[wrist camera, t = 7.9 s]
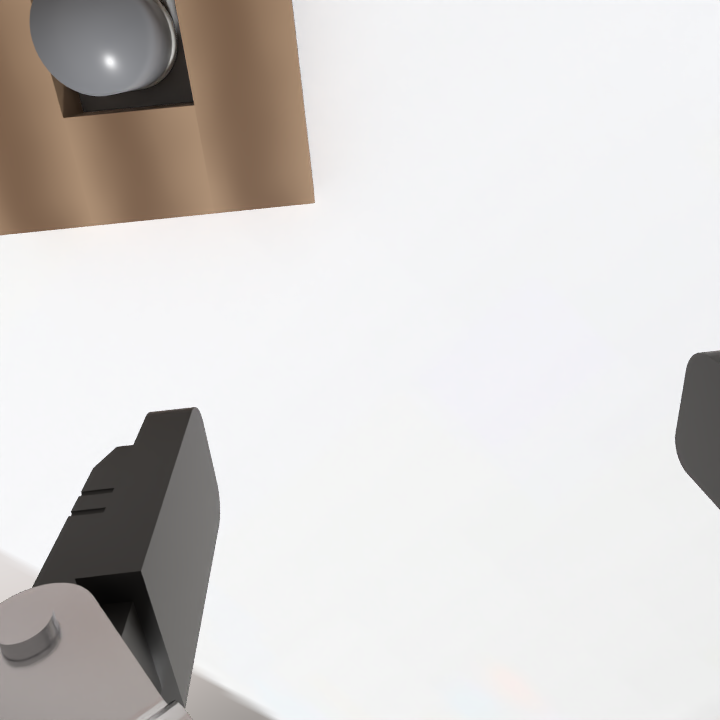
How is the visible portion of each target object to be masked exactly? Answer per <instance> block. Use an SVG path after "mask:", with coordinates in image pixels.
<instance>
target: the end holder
mask: <svg viewBox="0 0 720 720" xmlns="http://www.w3.org/2000/svg"><path fill="white" fill-rule="evenodd" d="M32 2H33V0H0V235H7V234H17V233H27V232H37V231H46V230H56V229H66V228H76V227H85V226H95V225H105V224H115V223H125V222H134V221H144V220H154V219H164V218H174V217H183V216H193V215H203V214H213V213H222V212H232V211H242V210H252V209H262V208H271V207H281V206H291V205H301V204H310V203H315V200H314V187H313V179H312V170H311V161H310V153H309V144H308V135H307V127H306V118H305V109H304V101H303V92H302V83H301V74H300V66H299V57H298V48H297V40H296V31H295V22H294V14H293V5H292V0H175V5H176V11H177V16H178V21H179V27H180V32H181V37H182V43H183V48H184V53H185V59H186V64H187V69H188V75H189V80H190V85H191V91H192V96H193V101H194V102H187V103H177V104H167V105H156V106H146V107H135V108H125V109H115V110H104V111H94V112H83V108H82V104H81V100H80V96H79V93H78V92H77V91H74V90H72V89H70V88H69V87H67V86H65V85H64V84H62V83H61V82H60V81H59V80H57V79H56V78H55V77H54V76H53V75H52V74H51V73H50V72H49V71H48V69H47V68H46V67H45V66H44V64H43V63H42V61H41V59H40V58H39V56H38V54H37V52H36V50H35V47H34V44H33V41H32V37H31V33H30V24H29V22H30V10H31V5H32Z"/></svg>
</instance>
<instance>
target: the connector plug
mask: <svg viewBox="0 0 720 720" xmlns="http://www.w3.org/2000/svg"><path fill="white" fill-rule="evenodd" d="M29 24H30V33H31V37H32V41H33V44H34V47H35V50H36V52H37V54H38V56H39V58H40V59H41V61H42V63H43V64H44V66H45V67H46V68H47V69H48V71H49V72H50V73H51V74H52V75H53V76H54V77H55V78H56V79H57V80H59V81H60V82H61V83H62V84H64V85H65V86H67V87H69V88H70V89H72V90H74V91H77V92H79V93H82V94H86V95H91V96H107V95H113V94H117V93H122V92H126V91H132V90H141V89H145V88H149V87H152V86H154V85H156V84H157V83H159V82H160V81H162V80H163V79H164V78H165V77H166V76H167V74H168V73H169V72H170V70H171V69H172V67H173V65H174V62H175V60H176V56H177V49H178V39H177V33H176V29H175V26H174V23H173V20H172V18H171V17H170V15H169V13H168V11H167V10H166V8H165V7H164V6H163V5H162V3H161V2H160V1H159V0H33V2H32V5H31V10H30V22H29Z"/></svg>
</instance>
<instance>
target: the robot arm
mask: <svg viewBox="0 0 720 720" xmlns="http://www.w3.org/2000/svg"><path fill="white" fill-rule="evenodd" d="M675 444H676V451H677V454H678V458H679V460H680V463H681V465H682V467H683V468H684V470H685V471H686V472H687V474H688V475H689V476H690V477H691V478H692V479H693V480H694V481H695V483H696V484H697V485H698V486H699V487H700V488H701V489H702V490H703V491H704V493H705V494H706V495H707V496H708V497H709V498H710V499H711V500H712V501H713V502H714V504H715V505H716V506H717V507H718V508H719V509H720V351H711V352H702V353H697V354H695V355H693V356H692V357H691V358H690V360H689V362H688V365H687V368H686V374H685V380H684V386H683V392H682V398H681V404H680V410H679V416H678V422H677V428H676V434H675ZM81 493H82V496H79V497H78V499H77V501H76V503H75V505H74V507H73V509H72V511H71V513H72V515H71V516H69V517H68V518H67V520H66V522H65V524H64V526H63V528H62V530H61V532H60V534H59V536H58V538H57V540H56V542H55V544H54V546H53V548H52V550H51V552H50V554H49V556H48V558H47V560H46V561H45V563H44V565H43V567H42V569H41V571H40V573H39V575H38V577H37V579H36V581H35V583H34V585H33V587H32V588H31V589H28V590H25V591H23V592H20V593H18V594H16V595H14V596H12V597H10V598H8V599H6V600H5V601H3V602H1V603H0V720H193V719H192V718H191V716H190V715H189V714H188V712H187V711H186V710H185V706H186V701H187V695H188V690H189V684H190V679H191V674H192V669H193V663H194V658H195V652H196V647H197V642H198V636H199V631H200V625H201V620H202V614H203V609H204V604H205V598H206V593H207V587H208V582H209V577H210V571H211V566H212V560H213V555H214V549H215V544H216V539H217V533H218V528H219V521H220V501H219V491H218V486H217V481H216V477H215V472H214V468H213V463H212V459H211V455H210V450H209V446H208V441H207V437H206V433H205V428H204V424H203V420H202V416H201V414H200V411H199V410H198V408H196V407H192V408H183V409H174V410H165V411H156V412H149V413H148V414H147V416H146V417H145V420H144V422H143V424H142V427H141V429H140V431H139V433H138V436H137V438H136V440H135V442H134V445H129V446H120V447H116V448H115V449H114V450H113V451H112V452H111V453H110V454H108V455H107V456H106V457H105V458H104V459H103V460H102V461H101V462H100V463H98V464H97V465H96V466H95V467H94V468H93V470H92V472H91V474H90V476H89V477H88V479H87V481H86V483H85V485H84V487H83V489H82V491H81Z"/></svg>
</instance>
